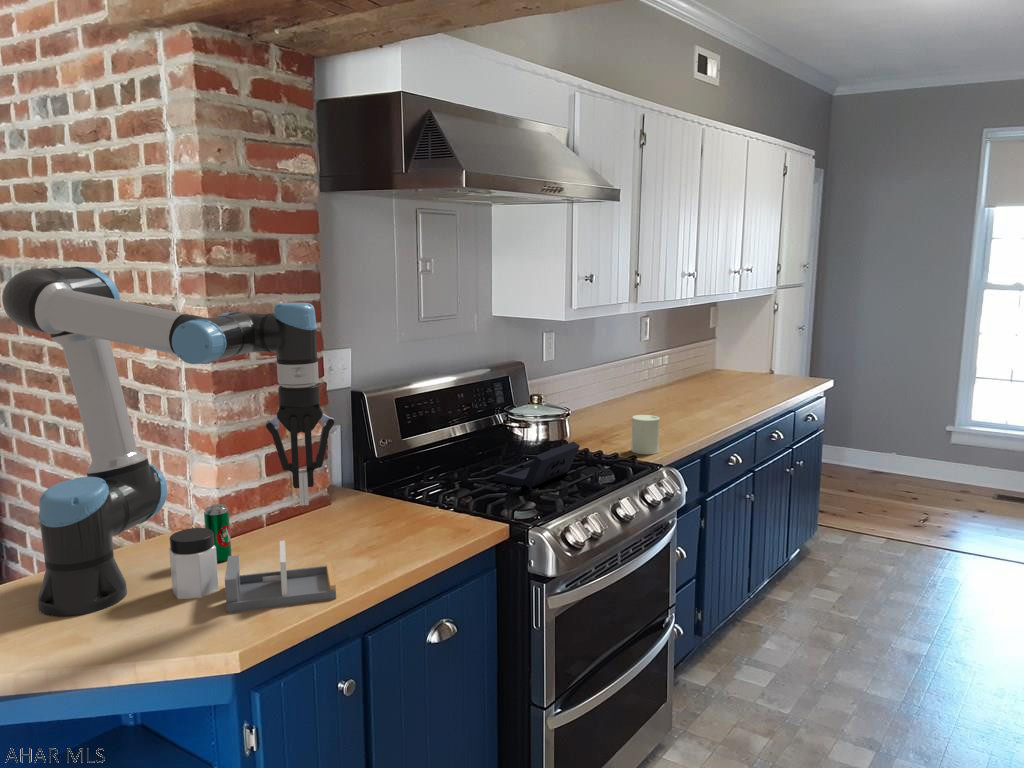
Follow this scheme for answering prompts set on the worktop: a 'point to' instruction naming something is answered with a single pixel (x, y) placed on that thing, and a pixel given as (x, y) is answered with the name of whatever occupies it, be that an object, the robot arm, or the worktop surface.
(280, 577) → the pusher
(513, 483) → the dark navy angled device
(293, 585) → the grey tray
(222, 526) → the soda can
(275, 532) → the worktop surface
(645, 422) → the can
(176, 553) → the jar
